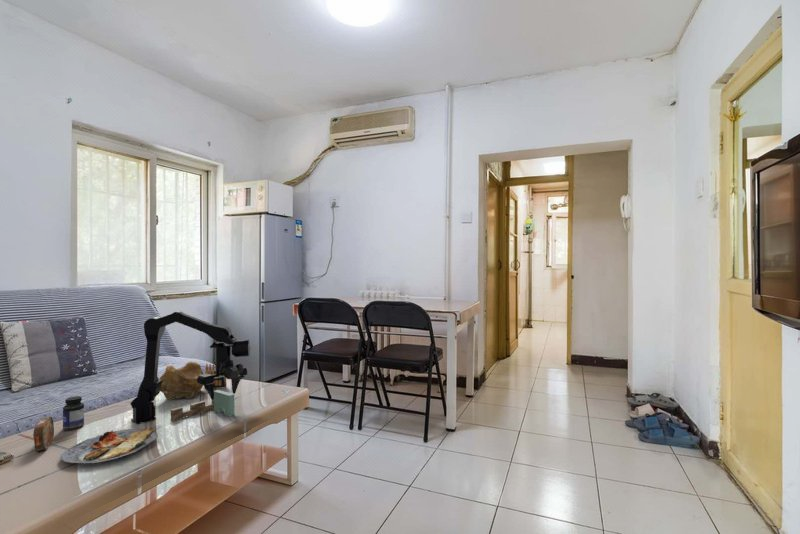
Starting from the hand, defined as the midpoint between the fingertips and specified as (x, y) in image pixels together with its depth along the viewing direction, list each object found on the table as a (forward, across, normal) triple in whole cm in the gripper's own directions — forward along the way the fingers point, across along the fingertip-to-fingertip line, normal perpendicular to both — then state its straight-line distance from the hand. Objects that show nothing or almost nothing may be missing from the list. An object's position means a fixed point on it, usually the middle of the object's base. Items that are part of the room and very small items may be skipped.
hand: (223, 396), depth 159 cm
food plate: (+7, -39, -2) cm, 40 cm away
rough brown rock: (+7, +3, +37) cm, 38 cm away
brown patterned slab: (+7, -51, +21) cm, 55 cm away
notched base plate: (+7, -6, +9) cm, 13 cm away
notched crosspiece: (+7, 0, 0) cm, 7 cm away
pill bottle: (+7, -40, +33) cm, 52 cm away
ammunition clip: (+7, +18, +39) cm, 43 cm away
